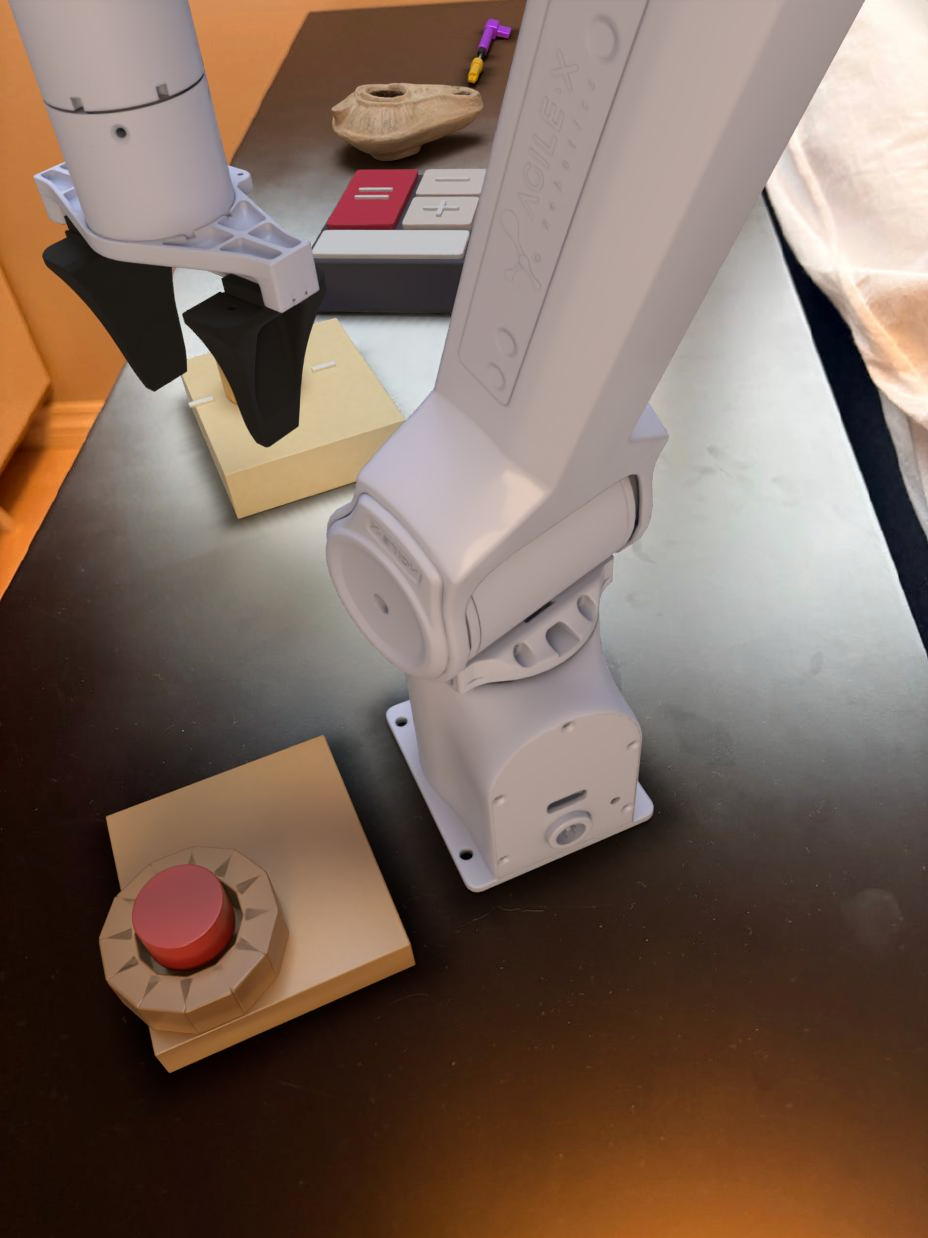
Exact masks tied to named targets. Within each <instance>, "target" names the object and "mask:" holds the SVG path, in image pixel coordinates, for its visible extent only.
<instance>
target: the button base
mask: <svg viewBox="0 0 928 1238" xmlns="http://www.w3.org/2000/svg"><path fill="white" fill-rule="evenodd" d="M105 820H106V826H107V830H108V835H109V840H110V845H111V850H112V854H113V859H114V864H115V869H116V874H117V879H118V883H119V889H120V892H118V893H117V895H116V896H115V897H114V898H113V900H112V903H111V905H110V908H109V911H108V913H107V916H106V919H105V921H104V924H103V926H102V929H101V932H100V934H99V936H98V944H99V951H100V956H101V961H102V967H103V972H104V978H105V981H106V983H107V984H108V986H109V988H111V989H112V991H113V992H114V993H115V994H116V996H117V997H118V998H119V1000H120V1001H121V1002H122V1003H123V1004H124V1005H125V1006H126V1007H127V1008H128V1009H129V1010H130V1011H131V1012H132V1013H134V1015H136V1016H137V1017H138V1018H139V1019H141V1021H143V1022H144V1023H145V1024H146V1025H147V1026H148V1029H149V1035H150V1040H151V1044H152V1049H153V1055H154V1056H155V1057H156V1059H157V1060H158V1061H159V1062H160V1064H162V1066H163V1067H164V1069H165V1070H166V1071H167V1072H168V1074H170V1073H173V1072H175V1071H177V1070H180V1069H182V1068H184V1067H187V1066H189V1065H192V1064H193V1063H197V1062H198V1061H200V1060H203V1059H204V1058H207V1057H209V1056H212V1055H213V1054H216V1053H219V1052H221V1051H223V1050H226V1049H228V1048H230V1047H232V1046H234V1045H236V1044H239V1043H241V1042H243V1041H246V1040H248V1039H250V1038H253V1037H254V1036H257V1035H260V1034H262V1033H263V1032H266V1031H269V1030H271V1029H273V1028H275V1027H277V1026H279V1025H280V1026H281V1025H282V1024H284V1023H287V1022H288V1021H291V1020H293V1019H296V1018H297V1017H300V1016H302V1015H304V1014H307V1013H309V1012H311V1011H314V1010H317V1009H319V1008H320V1007H322V1006H325V1005H328V1004H330V1003H332V1002H334V1001H336V1000H339V999H341V998H343V997H345V996H348V995H350V994H352V993H355V992H357V991H359V990H361V989H363V988H366V987H368V986H371V985H373V984H374V983H377V982H380V981H381V980H384V979H386V978H389V977H391V976H393V975H395V974H397V973H400V972H403V971H405V970H406V969H409V968H411V967H413V966H415V965H416V960H415V956H414V951H413V948H412V947H413V946H412V944H411V941H410V938H409V936H408V934H407V931H406V929H405V927H404V923H403V921H402V919H401V918H400V914H399V912H398V909H397V907H396V905H395V903H394V900H393V898H392V895H391V893H390V890H389V888H388V886H387V883H386V881H385V878H384V876H383V874H382V871H381V869H380V867H379V864H378V862H377V859H376V857H375V854H374V852H373V849H372V847H371V845H370V842H369V839H368V837H367V835H366V832H365V830H364V828H363V826H362V823H361V821H360V819H359V816H358V814H357V811H356V809H355V806H354V804H353V801H352V799H351V797H350V794H349V792H348V790H347V786H346V785H345V782H344V780H343V778H342V775H341V773H340V770H339V767H338V765H337V763H336V761H335V758H334V756H333V753H332V750H331V748H330V746H329V744H328V742H327V739H326V737H325V735H324V734H321V735H319V736H316V737H314V738H311V739H308V740H305V741H302V742H300V743H298V744H294V745H292V746H289V747H287V748H284V749H281V750H279V751H277V752H273V753H271V754H269V755H268V754H267V755H265V756H263V757H260V758H257V759H255V760H252V761H250V762H247V763H244V764H242V765H239V766H237V767H233V768H231V769H229V770H226V771H223V772H220V773H217V774H215V775H212V776H210V777H207V778H204V779H201V780H199V781H196V782H194V783H191V784H189V785H186V786H183V787H180V788H178V789H176V790H175V789H174V790H173V791H170V792H167V793H165V794H161V795H160V796H157V797H154V798H151V799H150V800H149V799H148V800H146V801H143V802H141V803H138V804H135V805H132V806H130V807H127V808H125V809H122V810H120V811H116V812H114V813H111V814H109V815H106V816H105ZM184 864H192V865H198V866H202V867H204V868H206V869H208V870H210V871H211V872H212V873H214V874H215V875H216V877H217V878H218V879H219V881H220V883H221V885H222V887H223V889H224V890H225V892H226V894H227V896H228V898H229V900H230V902H231V904H232V906H233V909H234V912H235V920H236V922H235V929H234V933H233V936H232V938H231V940H230V942H229V944H228V946H227V947H226V949H225V950H224V951H223V952H222V953H221V954H220V955H219V956H218V957H217V958H216V959H215V960H213V961H212V962H211V963H209V964H207V965H205V966H203V967H201V968H198V969H196V970H191V971H173V970H169V969H166V968H164V967H162V966H161V965H159V964H158V963H157V962H156V961H155V960H154V959H153V957H152V956H151V954H150V953H149V951H148V950H147V949H146V947H145V946H144V944H143V943H142V941H141V940H140V938H139V937H138V935H137V934H136V932H135V930H134V927H133V924H132V910H133V905H134V902H135V900H136V897H137V895H138V894H139V892H140V890H141V889H142V888H143V886H144V885H145V884H146V883H147V882H148V881H149V880H150V879H151V878H152V877H154V876H155V875H157V874H158V873H160V872H161V871H163V870H165V869H168V868H170V867H173V866H177V865H184Z"/></svg>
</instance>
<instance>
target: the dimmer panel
mask: <svg viewBox="0 0 928 1238" xmlns="http://www.w3.org/2000/svg"><path fill="white" fill-rule="evenodd" d="M180 378H181V381H182V384H183V387H184V391H185V393H186V396H187V399H188V403H187V404H188V406H189V408H190V409H191V410H192V412H193V415H194V417H195V420H196V422H197V424H198V427H199V429H200V432H201V434H202V436H203V439H204V441H205V444H206V446H207V448H208V450H209V454H210V455H211V458H212V460H213V463H214V465H215V468H216V470H217V472H218V475H219V477H220V480H221V482H222V485H223V487H224V489H225V491H226V494H227V496H228V499H229V500H230V501H229V502H230V503H231V505H232V508H233V510H234V513H235V515H236V517H237V519H238V520H240V519H243V518H246V517H249V516H252V515H255V514H259V513H261V512H264V511H265V512H266V511H268V510H271V509H274V508H277V507H281V506H283V505H287V504H289V503H290V504H291V503H292V502H297V501H299V500H303V499H305V498H309V497H312V496H316V495H318V494H321V493H324V492H327V491H331V490H335V489H337V488H340V487H343V486H346V485H350V484H352V483H356V480H357V476H358V474H359V472H360V471H361V469H362V468H363V467H364V466H365V464H366V463H367V462H368V461H369V460H370V459H371V458H372V457H373V455H374V454H375V453H376V452H377V451H378V450H379V449H380V448H381V447H382V445H383V444H384V443H385V442H386V441H387V440H388V439H389V438H390V437H391V436H392V435H393V433H394V432H395V431H396V430H397V429H398V428H399V427H400V426H401V425H402V424H403V423H404V422H405V421H406V420H407V419H406V418H405V417H404V416H403V414H402V412H401V411H400V410H399V407H398V406H397V405H396V403H395V402H394V400H393V399H392V398H391V396H390V395H389V393H388V392H387V390H386V389H385V387H384V386H383V384H382V383H381V381H380V380H379V379H378V377H377V376H376V374H375V373H374V371H373V369H372V368H371V367H370V365H369V364H368V362H367V361H366V360H365V358H364V357H363V355H362V353H361V352H360V351H359V349H358V347H357V346H356V345H355V343H354V342H353V340H352V339H351V337H350V335H349V334H348V333H347V331H346V330H345V328H344V327H343V326H342V324H341V323H340V321H339V319H338V318H337V317H334V318H330V319H327V320H323V321H320V322H316V323H315V322H314V324H313V327H312V330H311V333H310V336H309V340H308V344H307V348H306V353H305V358H304V365H303V373H302V383H301V397H300V415H299V427H297V428H296V429H294V430H293V431H292V432H290V433H289V434H287V435H286V436H284V437H283V438H282V439H280V440H279V441H277V442H276V443H275V444H273V445H272V446H270V447H266V448H265V447H263V446H261V445H259V444H257V443H256V442H255V440H254V439H253V437H252V436H251V434H250V433H249V431H248V429H247V427H246V425H245V423H244V420H243V418H242V415H241V413H240V410H239V408H238V405H237V404H236V403H234V402H232V401H231V400H230V399H229V398H228V397H227V396H226V394H225V391H224V388H223V384H222V381H221V377H220V374H219V370H218V367H217V363H216V360H215V358H214V357H213V355H212V354H211V352H207V353H204V354H200V355H197V356H194V357H190V358H187V372H186V373H184V374H183V375H181V376H180Z"/></svg>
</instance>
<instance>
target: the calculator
mask: <svg viewBox="0 0 928 1238" xmlns="http://www.w3.org/2000/svg"><path fill="white" fill-rule="evenodd" d="M486 169H487V168H429V169H426V170H425V171H424V173H423V174H419V170H418V169H416V168H415V169H414V168H413V169H411V168H410V169H409V168H406V169H405V168H404V169H403V168H402V169H398V168H397V169H358V170H356V172H354V175H353V176H352V178H351V179H350V181H349V183H348V184H347V186H346V188H345V190H343V193H342V194H341V196H340V198H339V200H338V202H337V203H336V205H335V206H334V208H333V210H332V211H331V213H330V215H329V216H328V219H327V220H326V222H325V223H324V226H323V227H322V228H321V230H320V232H319V234H318V236H316V237H317V238H316V239H315V240H314V243H313V244H312V245H311V247H312V253H313V258H314V263H315V267H317V268H319V269H321V270H322V271H323V272H324V274H325V279H326V284H327V292H326V294H325V296H324V298H323V301H322V303H321V305H320V308H319V310H318V312H336V313H337V312H340V313H341V312H345V313H346V312H347V313H408V314H409V313H410V314H411V313H414V314H415V313H417V314H452V311H453V307H454V303H455V299H456V294H457V290H458V286H459V282H460V278H461V273H462V269H463V265H464V261H465V257H466V253H467V248H468V244H469V240H470V236H471V232H472V228H473V223H474V219H475V215H476V211H477V207H478V202H479V198H480V194H481V190H482V186H483V182H484V177H485V173H486Z"/></svg>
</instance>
